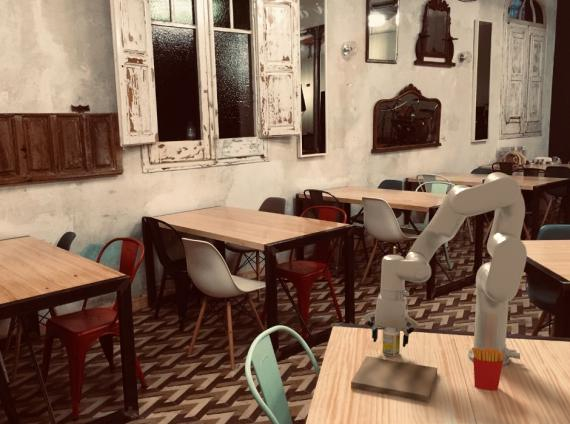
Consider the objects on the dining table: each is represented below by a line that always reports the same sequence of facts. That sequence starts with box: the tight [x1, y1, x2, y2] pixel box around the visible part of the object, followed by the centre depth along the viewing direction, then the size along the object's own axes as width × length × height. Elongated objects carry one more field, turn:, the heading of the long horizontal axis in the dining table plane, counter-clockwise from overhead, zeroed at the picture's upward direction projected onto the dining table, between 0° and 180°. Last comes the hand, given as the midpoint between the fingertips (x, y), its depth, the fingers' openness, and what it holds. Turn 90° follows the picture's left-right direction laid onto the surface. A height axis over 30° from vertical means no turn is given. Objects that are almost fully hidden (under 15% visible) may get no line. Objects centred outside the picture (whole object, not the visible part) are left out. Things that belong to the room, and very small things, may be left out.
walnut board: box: [350, 355, 438, 404], centre depth 165 cm, size 22×18×2 cm
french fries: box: [471, 347, 503, 392], centre depth 160 cm, size 8×4×12 cm, turn 71°
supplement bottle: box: [382, 327, 401, 358], centre depth 183 cm, size 6×6×10 cm
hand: (389, 343), depth 183 cm, fingers open, 9 cm apart
